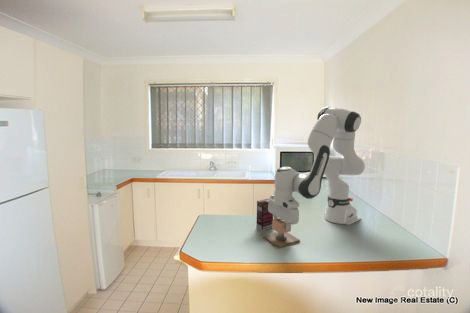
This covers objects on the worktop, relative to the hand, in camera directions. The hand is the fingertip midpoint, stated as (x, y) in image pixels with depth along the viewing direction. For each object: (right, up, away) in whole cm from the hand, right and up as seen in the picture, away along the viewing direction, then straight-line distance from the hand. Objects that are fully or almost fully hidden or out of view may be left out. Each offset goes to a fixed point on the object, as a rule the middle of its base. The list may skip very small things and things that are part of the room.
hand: (281, 226), depth 135 cm
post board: (0, -7, +1) cm, 7 cm away
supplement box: (-7, -5, +15) cm, 18 cm away
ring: (0, -2, 0) cm, 2 cm away
